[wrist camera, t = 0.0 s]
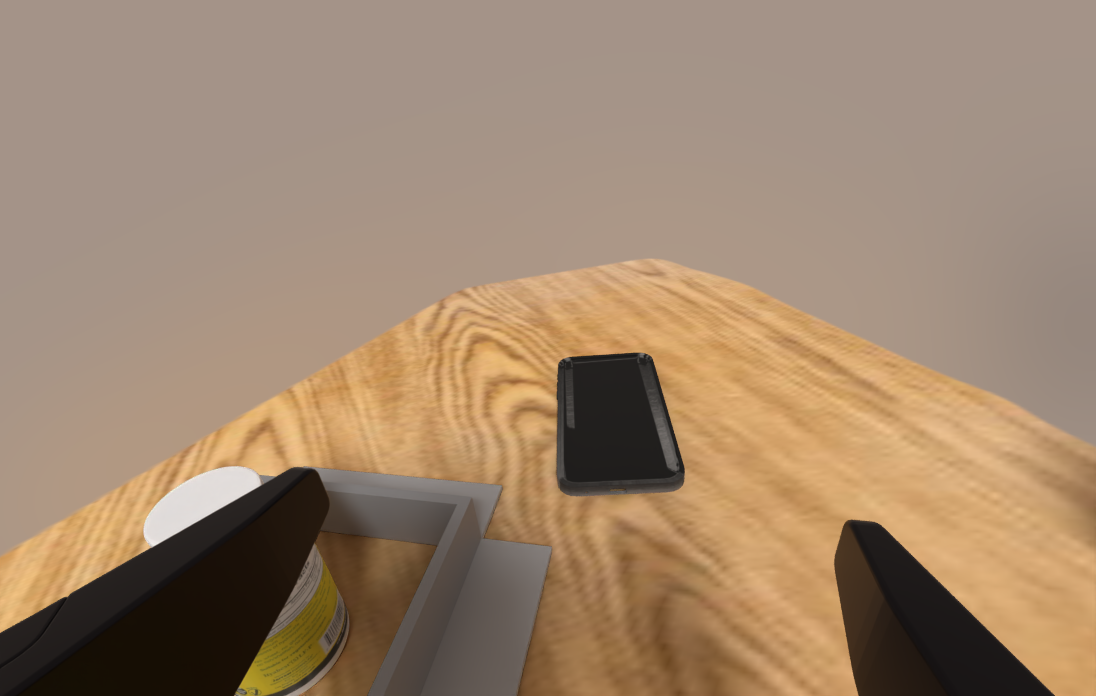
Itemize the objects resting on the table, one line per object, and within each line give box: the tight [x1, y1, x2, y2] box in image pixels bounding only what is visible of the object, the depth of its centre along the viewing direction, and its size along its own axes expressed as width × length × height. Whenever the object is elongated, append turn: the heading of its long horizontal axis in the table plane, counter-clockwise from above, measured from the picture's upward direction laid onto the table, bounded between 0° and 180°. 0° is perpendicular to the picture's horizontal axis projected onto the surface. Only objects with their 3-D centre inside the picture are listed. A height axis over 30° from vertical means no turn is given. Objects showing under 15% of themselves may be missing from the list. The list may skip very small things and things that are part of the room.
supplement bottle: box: [144, 466, 349, 696], centre depth 22 cm, size 5×5×10 cm
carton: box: [259, 467, 552, 696], centre depth 23 cm, size 22×22×4 cm
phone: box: [557, 353, 685, 496], centre depth 37 cm, size 8×1×15 cm
